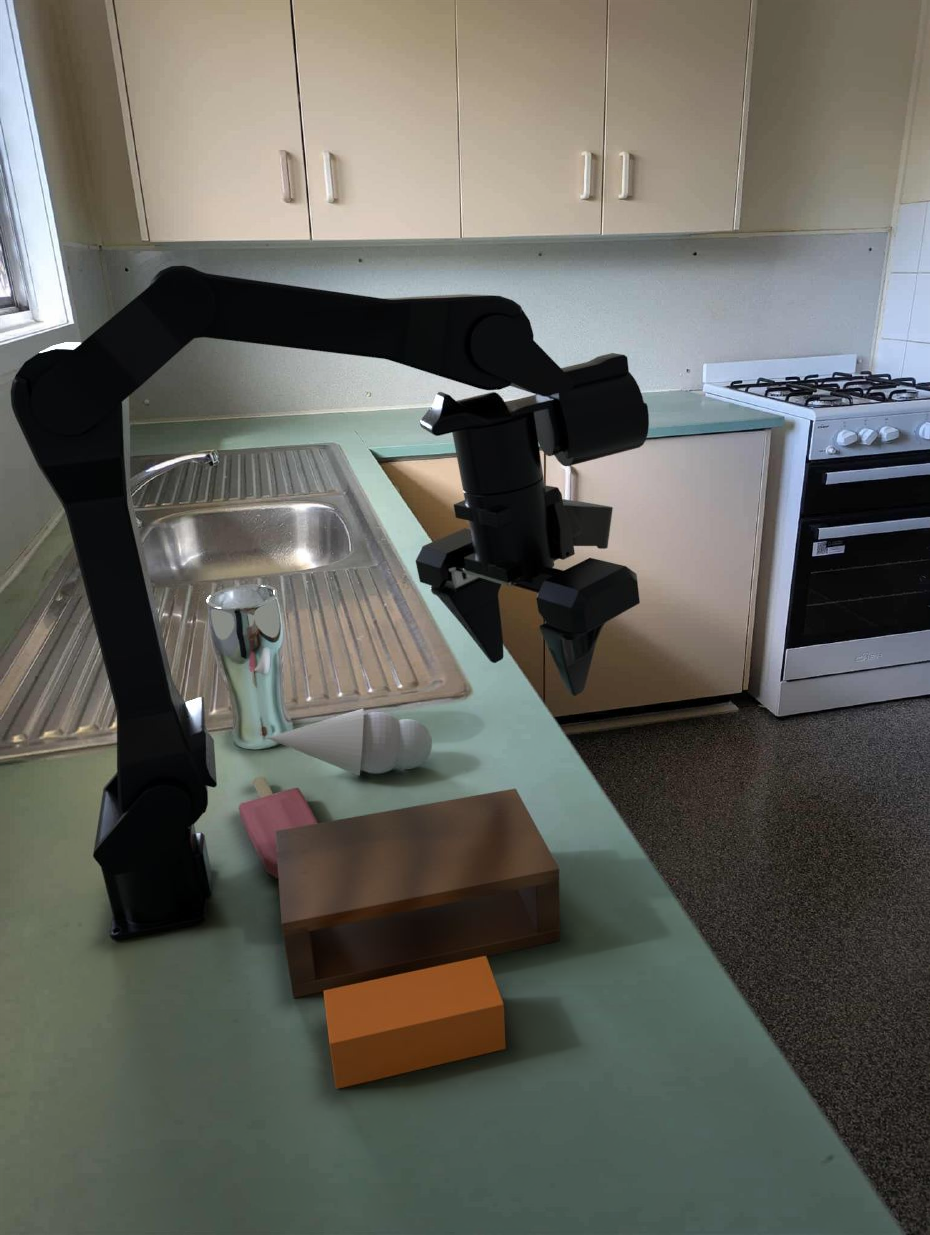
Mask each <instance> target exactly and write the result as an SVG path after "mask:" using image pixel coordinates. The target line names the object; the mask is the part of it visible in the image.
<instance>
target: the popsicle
mask: <svg viewBox="0 0 930 1235" xmlns="http://www.w3.org/2000/svg"><path fill="white" fill-rule="evenodd" d="M252 784H253V786H254V788H255V790H256V792H257V794H258V796H259V797H257V798H254V799H251V800H246V801H243V802H241V803H239V805H238V811H239V812H238V813H239V817H240V819H241V821H242V824H243V827H244V828H245V831H246V833H247V835H248V837H249V839H250V842H251V844H252V846H253V847H254V849H255V851H256V854H257V855H258V857H259V859H260V861H261V863H262V866H263V867H264V869H265V871H266V872H267V873H268V874H269V875H271V876H272V877H274V878H275V879H276V880H278V864H277V848H276V833H275V831H277V830H283V829H289V828H294V827H300V826H306V825H311V824H317V823H319V822H318V821H317V818H316V817H315V814H314V812H313V810H312V808H311V807H310V805H309V803H308V802H307V800H306V798H305V796H304V794H303V792H302V791H301V789H300V788H299V787H292V788H289V789H286V790H281V791H278V792H275V793H273V791H272V788H271V786H270V785H269V783H268V781H267V779H266V777H264V776H258V777H255V778H254V779H253V780H252Z"/></svg>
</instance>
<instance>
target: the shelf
mask: <svg viewBox="0 0 930 1235" xmlns="http://www.w3.org/2000/svg"><path fill="white" fill-rule="evenodd" d="M275 833H276V848H277V864H278V879H277V880H278V894H279V908H280V926H281V930H282V937H283V943H284V949H285V950H284V951H285V955H286V962H287V968H288V975H289V981H290V987H291V994H292V998H293V999H295V998H300V997H305V996H310V995H315V994H319V993H324V990H329V989H333V988H338V987H343V986H347V985H352V984H357V983H361V982H366V981H371V980H375V979H380V978H385V977H389V976H394V975H398V974H403V973H408V972H412V971H417V970H422V969H426V968H431V967H436V966H440V965H445V964H450V963H454V962H459V961H464V960H468V959H473V958H478V957H482V956H486V957H487V958H488V957H490V956H495V955H501V954H505V953H509V952H515V951H518V950H523V949H528V948H533V947H537V946H543V945H547V944H551V943H556V942H560V941H561V929H560V928H561V923H560V922H561V920H560V915H561V913H560V912H561V910H560V909H561V908H560V904H561V903H560V867H559V866H558V864H557V862H556V860H555V858H554V856H553V854H552V852H551V851H550V848H549V847H548V845H547V843H546V841H545V840H544V837H543V836H542V834H541V833H540V830H539V829H538V827H537V825H536V823H535V821H534V819H533V818H532V816H531V814H530V812H529V810H528V808H527V807H526V804H525V803H524V800H523V799H522V797H521V795H520V794H519V792H518V790H517V788H510V789H504V790H500V791H499V790H498V791H493V792H487V793H481V794H476V795H470V796H466V797H459V798H453V799H447V800H441V801H436V802H431V803H430V802H429V803H425V804H419V805H415V806H408V807H403V808H397V809H391V810H386V811H381V812H380V811H379V812H373V813H369V814H361V815H356V816H351V817H346V818H340V819H334V820H329V821H322V822H318V823H317V824H311V825H306V826H300V827H294V828H289V829H283V830H277V831H275Z"/></svg>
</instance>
